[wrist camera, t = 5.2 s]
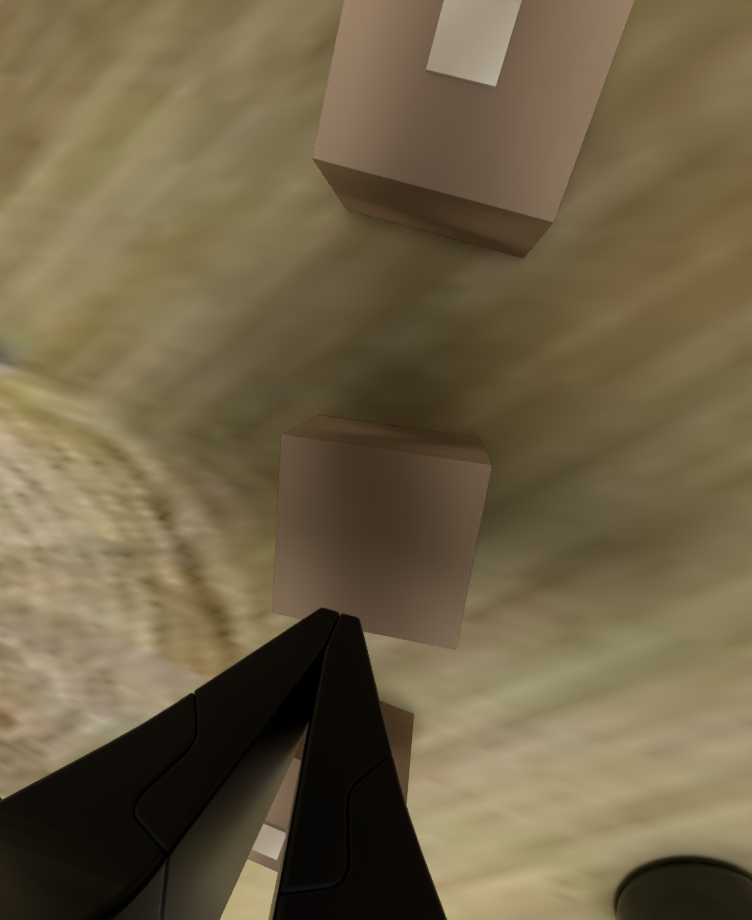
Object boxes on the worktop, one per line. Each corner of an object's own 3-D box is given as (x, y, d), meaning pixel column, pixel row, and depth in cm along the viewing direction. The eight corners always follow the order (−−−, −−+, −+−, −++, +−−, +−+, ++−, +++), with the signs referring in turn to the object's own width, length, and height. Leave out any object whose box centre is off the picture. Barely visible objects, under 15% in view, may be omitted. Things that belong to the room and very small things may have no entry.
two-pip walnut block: (414, 711, 19) (406, 807, 15) (373, 801, 20) (356, 909, 16) (289, 661, 19) (249, 742, 15) (259, 754, 21) (216, 849, 17)
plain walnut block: (479, 436, 15) (491, 465, 11) (453, 581, 17) (456, 649, 13) (320, 414, 16) (281, 434, 12) (309, 555, 17) (271, 612, 14)
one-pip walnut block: (600, 36, 12) (679, -122, 8) (522, 259, 13) (554, 221, 10) (399, -10, 12) (378, -181, 8) (348, 211, 14) (311, 156, 10)
